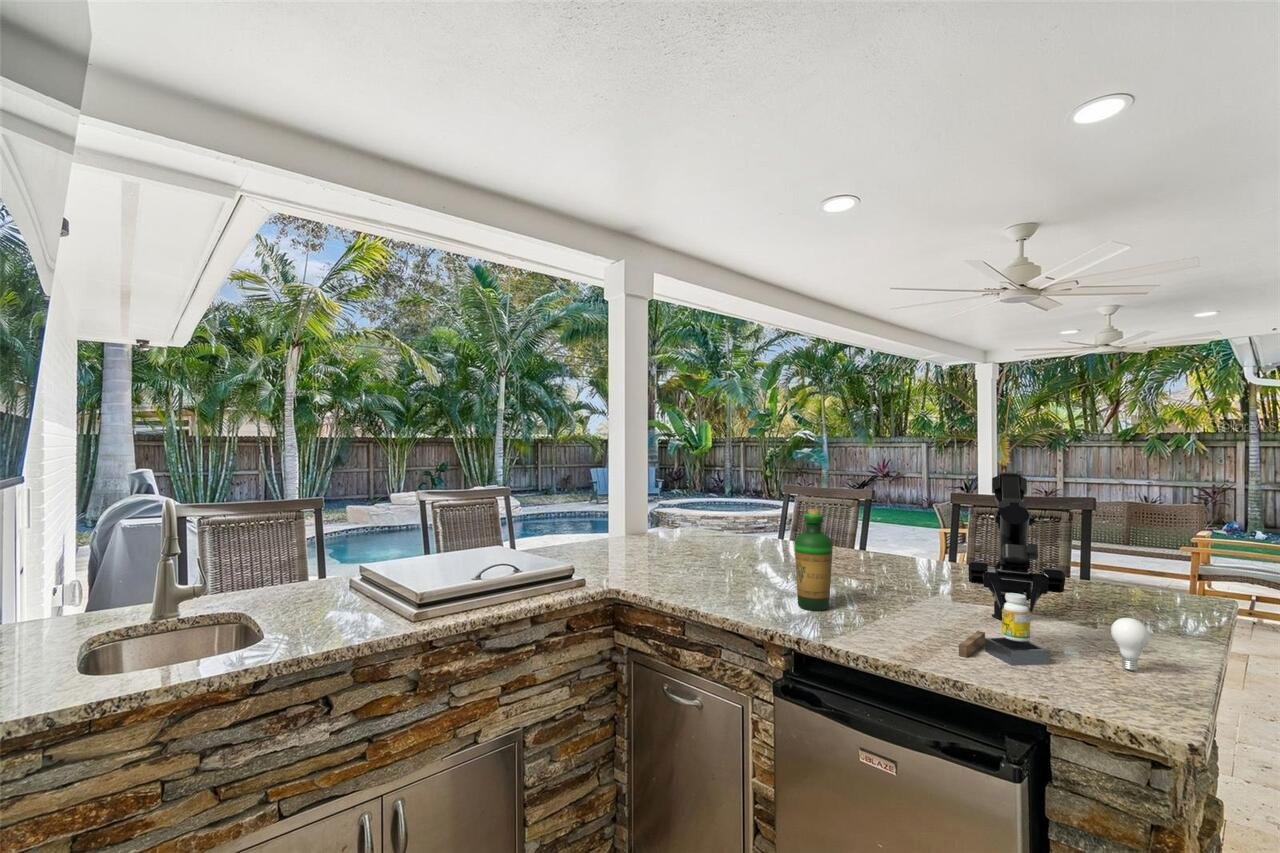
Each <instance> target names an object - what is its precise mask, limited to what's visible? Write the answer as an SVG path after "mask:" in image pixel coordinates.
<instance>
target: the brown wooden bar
mask: <svg viewBox="0 0 1280 853" xmlns="http://www.w3.org/2000/svg"><path fill="white" fill-rule="evenodd" d="M985 638H986V632H984V631H979V630H977V631H975V632H974V633H973V634H972V635H970V636H969V637H966V639H964V640H963V641H962V642H960V643H959V644H958V656H959V657H962V658H965V659H967V658H968V657H970V656H971V655H972V654H973V653H975V652H976V651H977V650H979V649H980V648H981V647H982V646H984V645H985Z"/></svg>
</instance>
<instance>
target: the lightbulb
mask: <svg viewBox="0 0 1280 853" xmlns="http://www.w3.org/2000/svg"><path fill="white" fill-rule="evenodd" d="M1149 632H1150V631H1149V630H1148V628H1147V626H1146V625H1145V624H1144V623H1143V622H1141V621H1139V620H1138V619H1136V618H1132V617H1120V618H1118V619H1116V620H1115V621H1114V622H1113V623H1112V624H1111V627H1110V633H1111V636H1112V637H1111V638H1112V639H1113V640H1114V641H1115V643H1116V645H1117V646H1118V649H1119V652H1120V655H1121V667H1122V668H1123V669H1125V671H1128V672H1135V671H1137V670H1139V658H1140V656H1141V653H1142V650H1143V649H1144V648H1145V647H1146V646H1147V644H1149V641H1150V633H1149Z"/></svg>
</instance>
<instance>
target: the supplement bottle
mask: <svg viewBox="0 0 1280 853" xmlns="http://www.w3.org/2000/svg"><path fill="white" fill-rule="evenodd" d="M1005 599H1006V601H1007V602H1005V603H1003V605H1002V620H1001V635H1002V638H1006V639H1009V640H1012V641H1018V642H1027V641H1029V642H1030V641H1031V612H1030V606H1028V605H1027V604H1026V603H1027V600H1026V596H1025V595H1022V594H1017V593H1006V594H1005Z"/></svg>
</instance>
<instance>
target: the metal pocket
mask: <svg viewBox="0 0 1280 853" xmlns="http://www.w3.org/2000/svg"><path fill="white" fill-rule="evenodd" d="M984 652H985V653H988V654H989V655H991V656H993V657H995V658H997V659H999V660H1000V661H1001V662H1002V661H1003V662H1004V663H1006V664H1008V665H1010V666H1034V665H1035V666H1037V665H1049V663H1050V662H1049V658H1050V656H1049V654H1050V652H1049V650H1048V649H1046V648H1044V647H1042V646H1040V645H1038V644H1036V643H1034V642H1031V641H1030V640H1029V641H1027V642H1018V641H1012V640H1009V639H1006V638H1004V637H985V643H984Z"/></svg>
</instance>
